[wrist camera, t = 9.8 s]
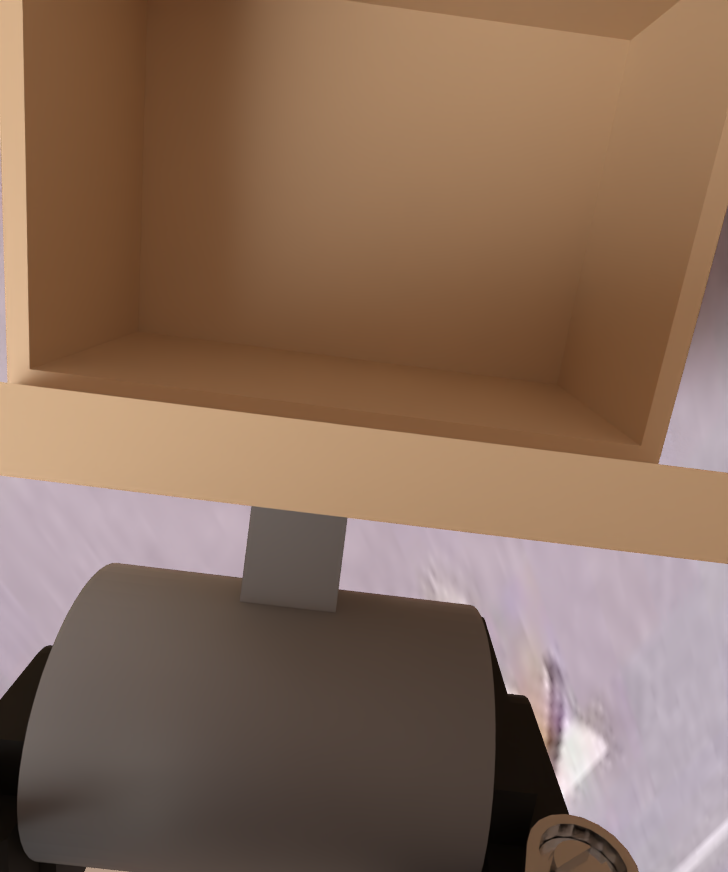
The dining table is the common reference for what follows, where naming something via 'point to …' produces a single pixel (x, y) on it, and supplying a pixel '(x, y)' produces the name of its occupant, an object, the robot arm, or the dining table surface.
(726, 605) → the dining table surface
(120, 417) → the carton lid
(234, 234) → the carton
